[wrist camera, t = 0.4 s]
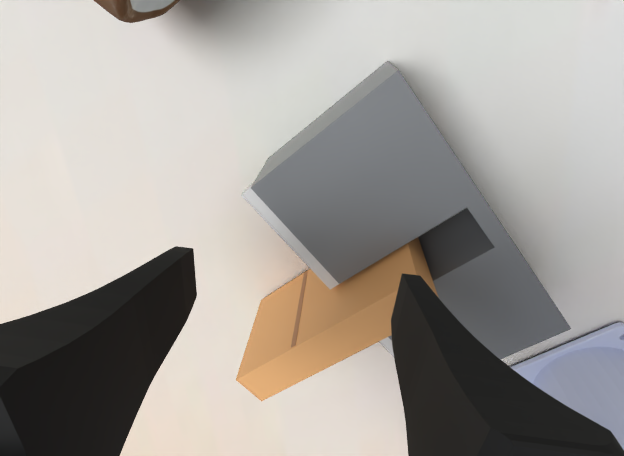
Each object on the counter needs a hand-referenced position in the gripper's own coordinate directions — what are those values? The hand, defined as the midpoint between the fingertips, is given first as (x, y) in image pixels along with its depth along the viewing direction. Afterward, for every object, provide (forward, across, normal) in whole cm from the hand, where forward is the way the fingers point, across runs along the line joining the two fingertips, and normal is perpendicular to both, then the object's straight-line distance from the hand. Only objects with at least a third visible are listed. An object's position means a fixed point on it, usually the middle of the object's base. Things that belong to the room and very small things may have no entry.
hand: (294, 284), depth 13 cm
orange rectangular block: (+9, -2, +6) cm, 11 cm away
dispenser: (+10, -6, +2) cm, 12 cm away
